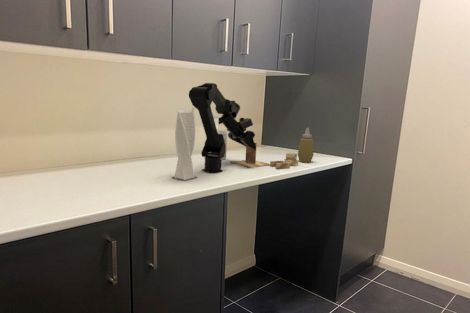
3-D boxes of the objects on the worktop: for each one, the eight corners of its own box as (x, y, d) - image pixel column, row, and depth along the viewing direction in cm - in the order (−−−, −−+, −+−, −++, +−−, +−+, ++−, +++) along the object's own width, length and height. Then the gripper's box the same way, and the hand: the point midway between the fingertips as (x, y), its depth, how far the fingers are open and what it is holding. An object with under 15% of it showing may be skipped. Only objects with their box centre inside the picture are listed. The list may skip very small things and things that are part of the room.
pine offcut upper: (293, 160, 162) (293, 154, 161) (285, 159, 164) (286, 153, 164) (296, 159, 165) (297, 153, 165) (289, 158, 167) (289, 152, 167)
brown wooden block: (248, 163, 161) (249, 143, 159) (245, 162, 164) (246, 142, 162) (255, 163, 163) (256, 143, 161) (252, 162, 165) (253, 142, 164)
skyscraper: (200, 178, 130) (202, 106, 125) (185, 182, 123) (187, 105, 118) (183, 174, 135) (185, 104, 130) (169, 178, 128) (170, 104, 123)
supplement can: (207, 159, 170) (208, 129, 168) (213, 156, 178) (214, 128, 175) (222, 160, 168) (224, 131, 165) (228, 158, 176) (229, 129, 173)
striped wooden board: (249, 167, 154) (249, 167, 154) (230, 162, 164) (230, 161, 164) (270, 164, 163) (270, 164, 163) (250, 160, 173) (250, 159, 173)
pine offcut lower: (289, 166, 162) (289, 160, 161) (284, 164, 166) (284, 158, 166) (298, 166, 164) (298, 160, 163) (292, 164, 168) (293, 158, 168)
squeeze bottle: (305, 163, 170) (308, 128, 167) (293, 161, 176) (296, 126, 173) (316, 162, 175) (319, 128, 171) (304, 159, 181) (307, 126, 178)
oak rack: (277, 169, 154) (277, 163, 154) (270, 166, 160) (270, 161, 159) (289, 168, 157) (290, 163, 157) (282, 165, 163) (282, 160, 162)
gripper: (252, 113, 148) (272, 138, 155) (234, 111, 165) (253, 133, 172) (235, 131, 146) (256, 155, 153) (219, 127, 163) (238, 148, 170)
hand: (251, 147), depth 162 cm, fingers open, 9 cm apart
